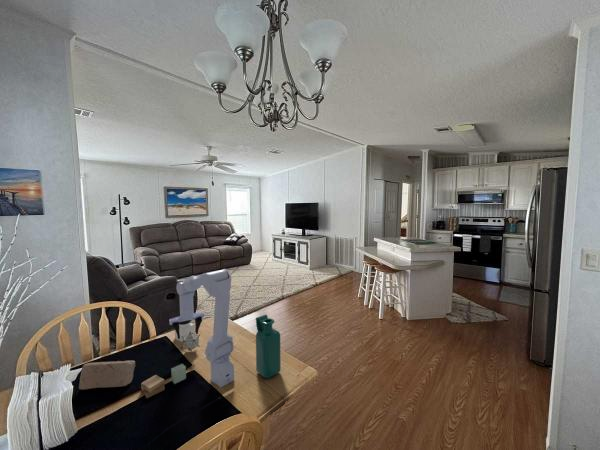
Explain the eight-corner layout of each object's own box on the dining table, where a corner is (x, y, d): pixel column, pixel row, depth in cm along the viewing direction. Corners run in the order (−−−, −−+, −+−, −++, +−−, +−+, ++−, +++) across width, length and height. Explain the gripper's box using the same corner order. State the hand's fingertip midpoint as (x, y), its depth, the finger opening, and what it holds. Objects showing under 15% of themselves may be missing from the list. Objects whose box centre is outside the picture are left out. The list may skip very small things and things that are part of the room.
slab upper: (164, 384, 98) (164, 379, 98) (150, 393, 94) (149, 388, 93) (155, 379, 101) (155, 374, 101) (141, 388, 96) (141, 383, 96)
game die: (204, 347, 127) (203, 327, 126) (195, 357, 118) (194, 336, 117) (186, 346, 127) (186, 326, 127) (177, 356, 119) (176, 335, 118)
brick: (135, 359, 104) (131, 362, 100) (132, 382, 102) (127, 386, 98) (88, 361, 100) (81, 365, 96) (84, 385, 98) (76, 390, 94)
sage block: (186, 378, 104) (185, 366, 103) (174, 384, 100) (174, 371, 100) (182, 375, 106) (182, 363, 105) (171, 380, 103) (171, 368, 102)
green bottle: (282, 371, 108) (282, 320, 106) (265, 380, 102) (265, 326, 101) (269, 360, 115) (268, 313, 114) (252, 368, 110) (252, 318, 108)
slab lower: (164, 391, 97) (164, 386, 97) (147, 400, 93) (146, 394, 93) (159, 383, 101) (158, 379, 101) (141, 391, 97) (141, 386, 97)
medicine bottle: (195, 337, 136) (194, 315, 135) (182, 343, 130) (182, 320, 129) (187, 333, 140) (186, 312, 139) (174, 339, 134) (173, 317, 133)
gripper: (201, 301, 125) (202, 328, 126) (168, 307, 117) (169, 336, 118) (204, 305, 119) (205, 334, 120) (169, 312, 112) (171, 343, 112)
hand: (187, 335), depth 119 cm, fingers open, 7 cm apart
